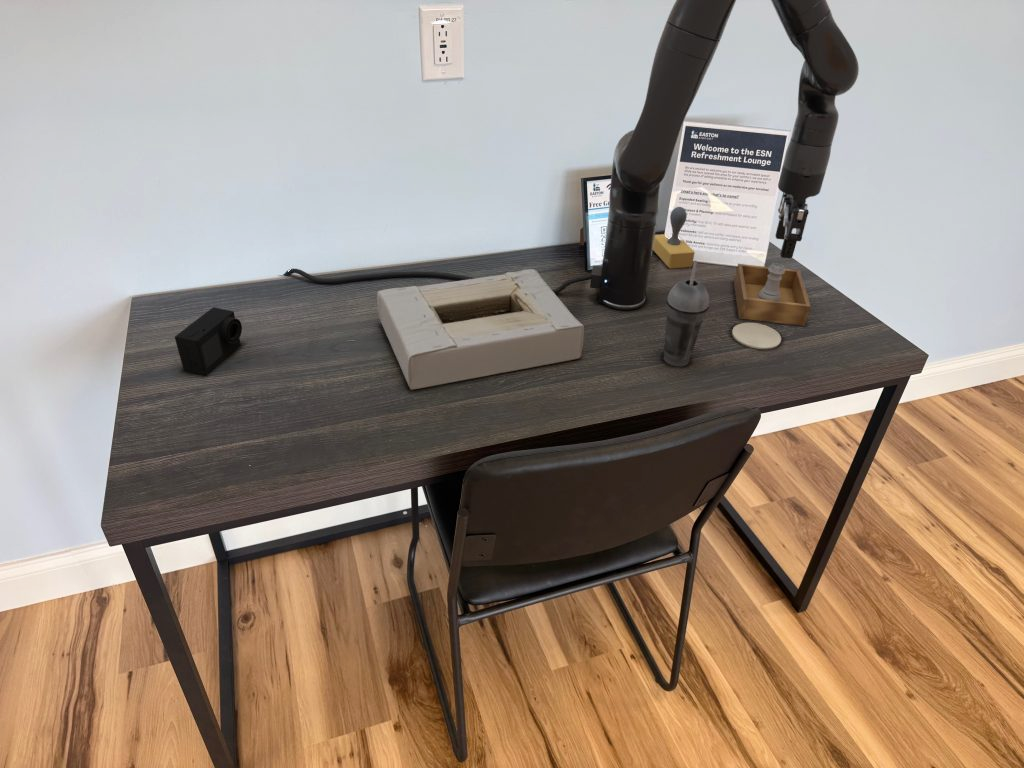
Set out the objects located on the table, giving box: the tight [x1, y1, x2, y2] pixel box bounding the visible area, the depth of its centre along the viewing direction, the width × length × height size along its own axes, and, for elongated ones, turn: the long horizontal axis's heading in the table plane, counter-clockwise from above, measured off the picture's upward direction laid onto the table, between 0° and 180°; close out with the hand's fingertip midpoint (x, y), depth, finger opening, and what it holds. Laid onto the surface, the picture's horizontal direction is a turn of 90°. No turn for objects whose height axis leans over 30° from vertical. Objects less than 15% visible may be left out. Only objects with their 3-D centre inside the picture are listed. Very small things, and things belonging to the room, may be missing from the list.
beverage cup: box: [663, 259, 710, 367], centre depth 126 cm, size 7×7×20 cm
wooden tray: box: [733, 263, 812, 327], centre depth 148 cm, size 13×16×4 cm
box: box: [376, 268, 585, 391], centre depth 132 cm, size 23×8×32 cm
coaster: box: [731, 322, 782, 350], centre depth 139 cm, size 9×9×1 cm
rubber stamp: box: [652, 206, 696, 270], centre depth 162 cm, size 10×6×12 cm, turn 13°
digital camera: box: [174, 307, 243, 376], centre depth 125 cm, size 10×5×7 cm, turn 163°
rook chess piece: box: [758, 262, 785, 301], centre depth 147 cm, size 4×4×8 cm
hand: (783, 247), depth 142 cm, fingers open, 8 cm apart
